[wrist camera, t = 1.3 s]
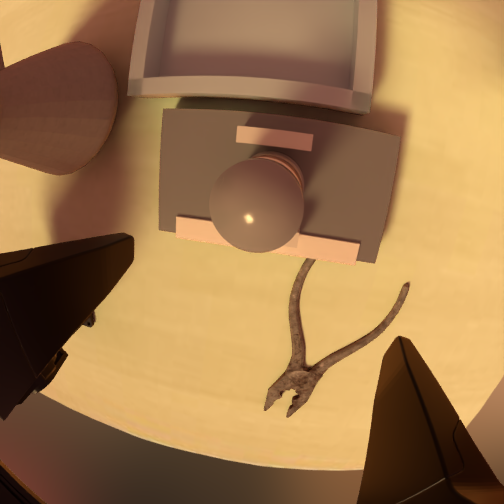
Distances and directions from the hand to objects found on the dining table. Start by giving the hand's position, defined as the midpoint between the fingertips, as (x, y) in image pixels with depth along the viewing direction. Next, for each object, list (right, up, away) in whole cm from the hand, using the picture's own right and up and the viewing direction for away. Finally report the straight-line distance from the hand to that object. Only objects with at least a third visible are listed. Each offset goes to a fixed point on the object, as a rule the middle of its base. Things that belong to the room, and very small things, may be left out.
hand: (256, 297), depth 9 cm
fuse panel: (+1, +7, +12) cm, 14 cm away
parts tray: (0, +18, +8) cm, 19 cm away
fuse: (+1, +6, +11) cm, 12 cm away
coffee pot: (-15, +19, +11) cm, 26 cm away
